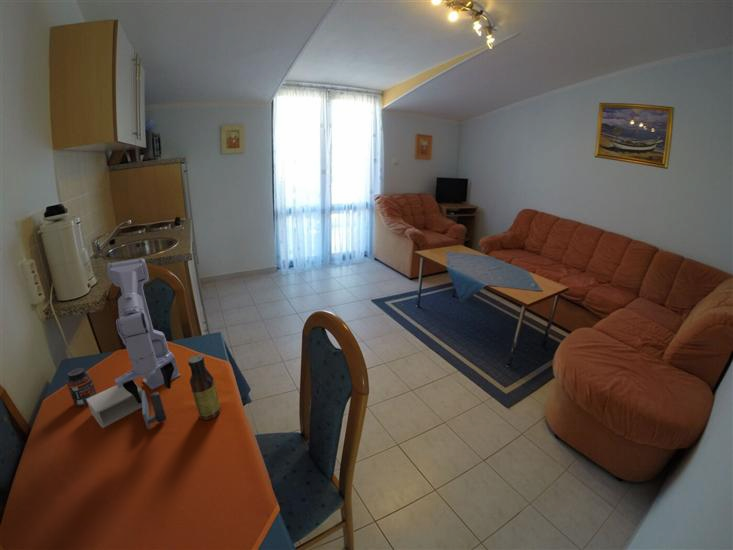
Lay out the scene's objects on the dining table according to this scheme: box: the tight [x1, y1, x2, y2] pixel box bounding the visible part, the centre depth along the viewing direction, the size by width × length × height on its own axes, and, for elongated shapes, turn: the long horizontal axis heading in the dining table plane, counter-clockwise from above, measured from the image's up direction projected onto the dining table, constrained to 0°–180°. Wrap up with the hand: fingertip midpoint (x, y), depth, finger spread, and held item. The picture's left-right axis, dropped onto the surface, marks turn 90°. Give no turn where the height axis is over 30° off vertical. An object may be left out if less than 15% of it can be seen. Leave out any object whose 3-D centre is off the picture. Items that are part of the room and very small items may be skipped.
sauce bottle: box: [187, 354, 221, 421], centre depth 100 cm, size 7×6×20 cm
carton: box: [86, 382, 143, 429], centre depth 105 cm, size 12×9×6 cm
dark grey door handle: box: [141, 389, 167, 430], centre depth 102 cm, size 12×5×10 cm, turn 33°
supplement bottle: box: [66, 367, 98, 407], centre depth 108 cm, size 6×6×11 cm
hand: (154, 394), depth 97 cm, fingers open, 7 cm apart
